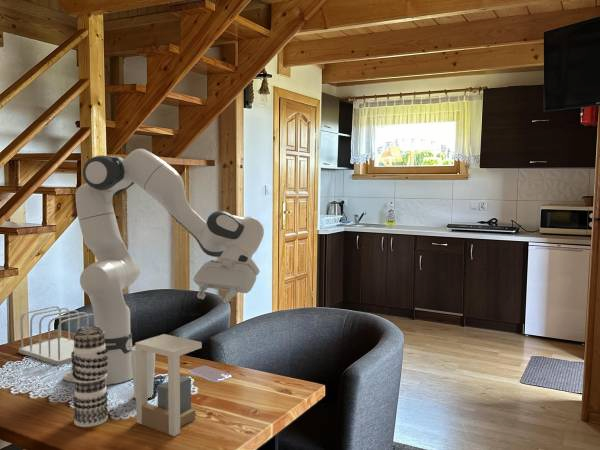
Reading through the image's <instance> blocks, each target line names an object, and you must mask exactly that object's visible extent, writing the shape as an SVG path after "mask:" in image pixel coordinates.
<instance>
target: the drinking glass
mask: <svg viewBox="0 0 600 450" xmlns="http://www.w3.org/2000/svg"><path fill="white" fill-rule="evenodd" d="M131 365H132V374H133V378H132V382H133V390H134V391H133V395H134V398H135V400H136V354H135V345H134V346H132V349H131ZM155 366H156V353H152V352H148V351H147V400H149V399H148V398H150V397H151V398H152V397H153V396H154V381H155V368H156V367H155ZM152 395H153V396H152ZM151 398H150V399H151Z"/></svg>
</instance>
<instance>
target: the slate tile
mask: <svg viewBox="0 0 600 450" xmlns="http://www.w3.org/2000/svg"><path fill="white" fill-rule="evenodd" d="M157 407H160V408H163V409H166V410H169V403H168V381H166V382H162V383H161V384H159V385H157ZM190 409H192V378H191V377H189V376H186V375H180V414H182V413H184V412H186V411H188V410H190Z"/></svg>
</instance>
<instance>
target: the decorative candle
mask: <svg viewBox="0 0 600 450" xmlns="http://www.w3.org/2000/svg"><path fill="white" fill-rule="evenodd" d="M105 333H106V332H105V331H103V330H102V329H101V327H99V326H94V325H89V326H87V325H84V326H81V327H79V329H78V328H77V330H76V331H75V333H73V334H72V337H73V340H74V351H73V352H72V353H71V354H72V355H71V357H73V358H72V360H71V362H70V363H71V369H72V370H73V373H72V375H73V380H74V381H75V382H74V387H75V388H74V396H73V397H72V399H73V401H74V402H73V406H74V408H73V409H72V410H73V413H74V415H73V419H74V420H73V423H74V425H75V426H77V427H81V428H90V427H95V426H99V425H102V424H104V423H105V422H107V420H108V419H109V416H108V413H109V410H108V407H109V405H108V399H109V398H108V395H109V393H108V392H107V385H105V383H106V382H105V378H106V377H107V369H105V366H107V364H108V362H106V360H107V359H108V357H107V356H105V355H104V354H106V353H107V352H108V349H106V345H105V342H104V341H105V337H104V335H105ZM74 354H75V356H74ZM72 364H73V366H72ZM72 367H73V368H72Z"/></svg>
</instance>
